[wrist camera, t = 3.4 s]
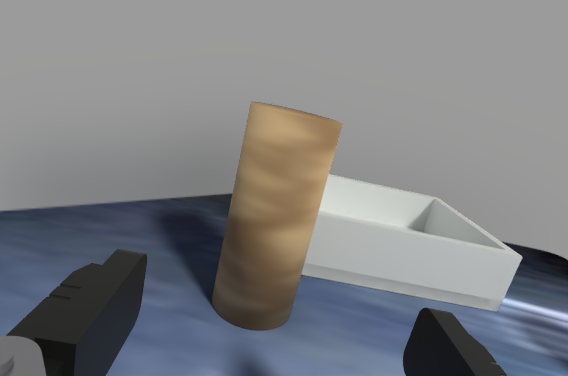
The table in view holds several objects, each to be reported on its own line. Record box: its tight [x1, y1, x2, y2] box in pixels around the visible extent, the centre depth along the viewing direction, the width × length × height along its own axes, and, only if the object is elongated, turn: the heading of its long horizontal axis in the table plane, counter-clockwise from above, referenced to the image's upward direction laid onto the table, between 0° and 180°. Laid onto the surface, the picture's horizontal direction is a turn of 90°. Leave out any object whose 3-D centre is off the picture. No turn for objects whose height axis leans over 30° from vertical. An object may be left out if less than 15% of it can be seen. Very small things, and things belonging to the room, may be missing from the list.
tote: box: [301, 174, 522, 312], centre depth 34 cm, size 18×15×5 cm
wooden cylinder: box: [212, 102, 342, 330], centre depth 21 cm, size 5×5×12 cm
